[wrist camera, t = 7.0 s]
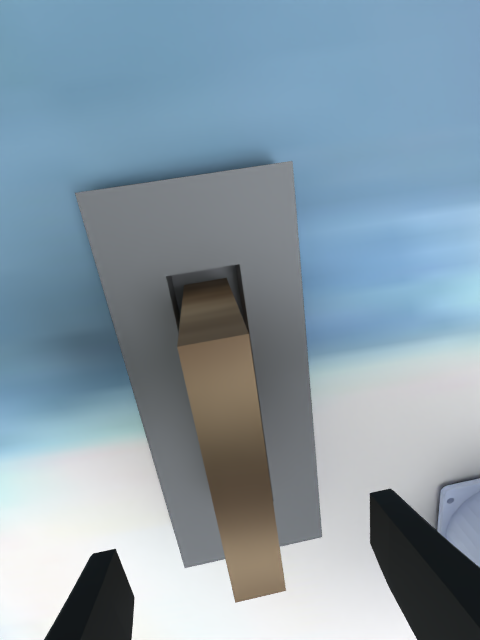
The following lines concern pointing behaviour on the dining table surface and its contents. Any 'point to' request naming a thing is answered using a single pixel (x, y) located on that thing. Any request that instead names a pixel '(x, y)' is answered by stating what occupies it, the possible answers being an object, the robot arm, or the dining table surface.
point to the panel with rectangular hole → (164, 320)
